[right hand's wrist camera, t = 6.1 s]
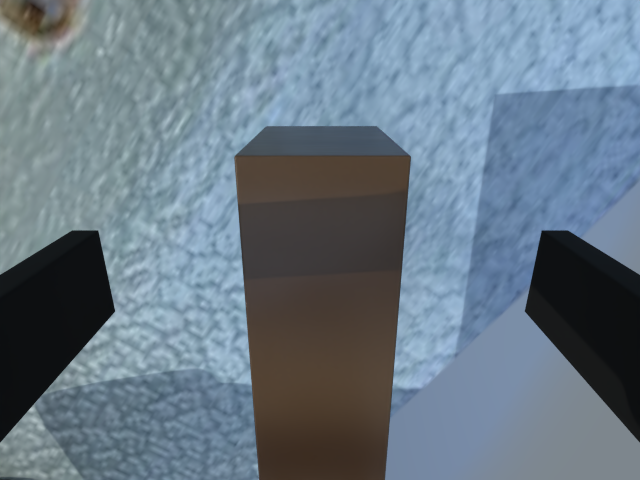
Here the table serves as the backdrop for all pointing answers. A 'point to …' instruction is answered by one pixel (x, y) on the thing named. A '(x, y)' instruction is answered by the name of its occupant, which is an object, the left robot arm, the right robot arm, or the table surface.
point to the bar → (322, 295)
